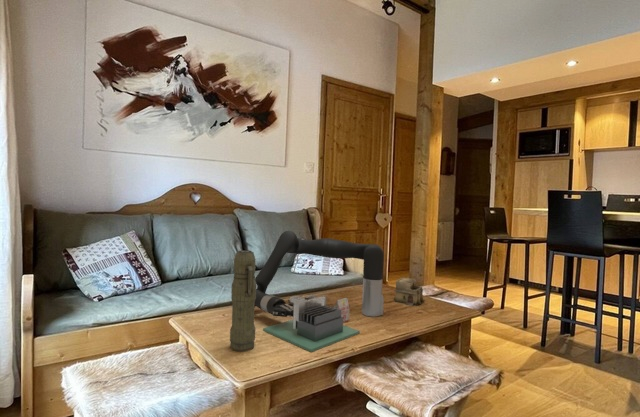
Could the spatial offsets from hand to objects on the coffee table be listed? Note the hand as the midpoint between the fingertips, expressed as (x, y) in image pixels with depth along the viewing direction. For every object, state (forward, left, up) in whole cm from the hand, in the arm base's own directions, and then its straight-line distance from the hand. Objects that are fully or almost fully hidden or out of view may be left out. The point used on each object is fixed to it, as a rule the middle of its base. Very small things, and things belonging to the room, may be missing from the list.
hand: (298, 315), depth 150 cm
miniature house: (-69, -35, -8) cm, 78 cm away
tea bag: (-22, -12, -8) cm, 26 cm away
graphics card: (-12, -40, -8) cm, 43 cm away
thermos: (+23, +8, -8) cm, 25 cm away
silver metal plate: (-6, -2, -4) cm, 7 cm away
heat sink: (-6, -1, -7) cm, 10 cm away
